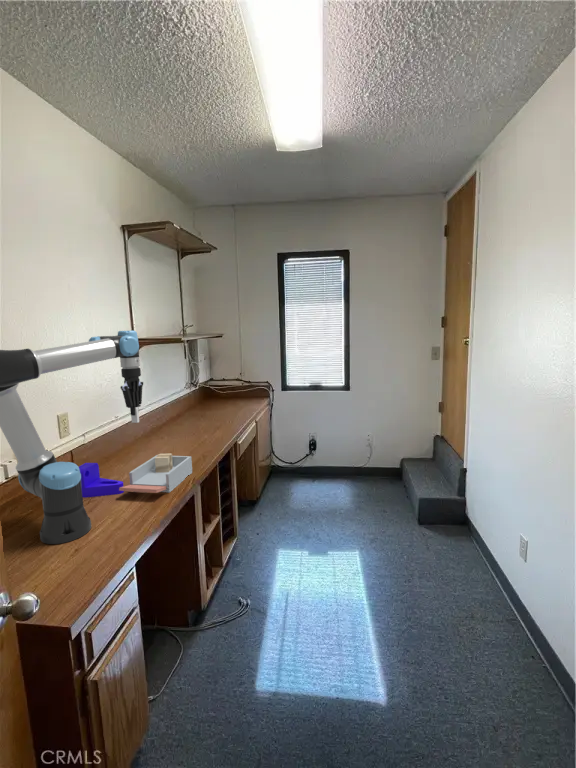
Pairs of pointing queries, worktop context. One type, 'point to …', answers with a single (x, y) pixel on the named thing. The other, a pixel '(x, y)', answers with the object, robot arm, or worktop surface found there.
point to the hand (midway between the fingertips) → (135, 422)
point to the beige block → (163, 463)
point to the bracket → (97, 482)
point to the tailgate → (142, 488)
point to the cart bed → (162, 473)
